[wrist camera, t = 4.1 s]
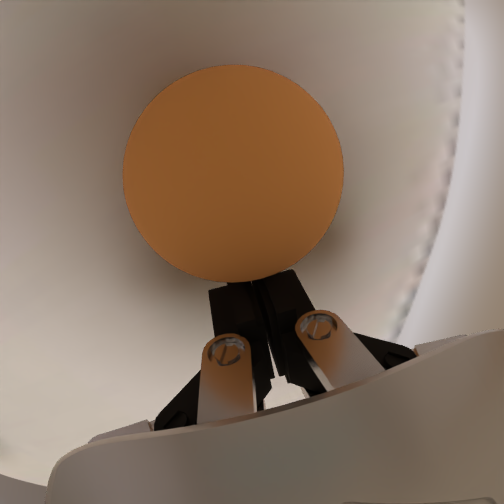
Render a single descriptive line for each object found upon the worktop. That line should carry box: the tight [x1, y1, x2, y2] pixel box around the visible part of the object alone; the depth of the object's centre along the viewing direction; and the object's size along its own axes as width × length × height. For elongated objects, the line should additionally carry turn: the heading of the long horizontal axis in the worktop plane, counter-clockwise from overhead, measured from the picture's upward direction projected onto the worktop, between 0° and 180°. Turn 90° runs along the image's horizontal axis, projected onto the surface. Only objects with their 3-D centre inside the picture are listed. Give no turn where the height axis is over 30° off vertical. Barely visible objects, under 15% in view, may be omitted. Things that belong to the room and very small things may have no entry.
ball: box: [123, 65, 344, 283], centre depth 9 cm, size 6×6×6 cm
